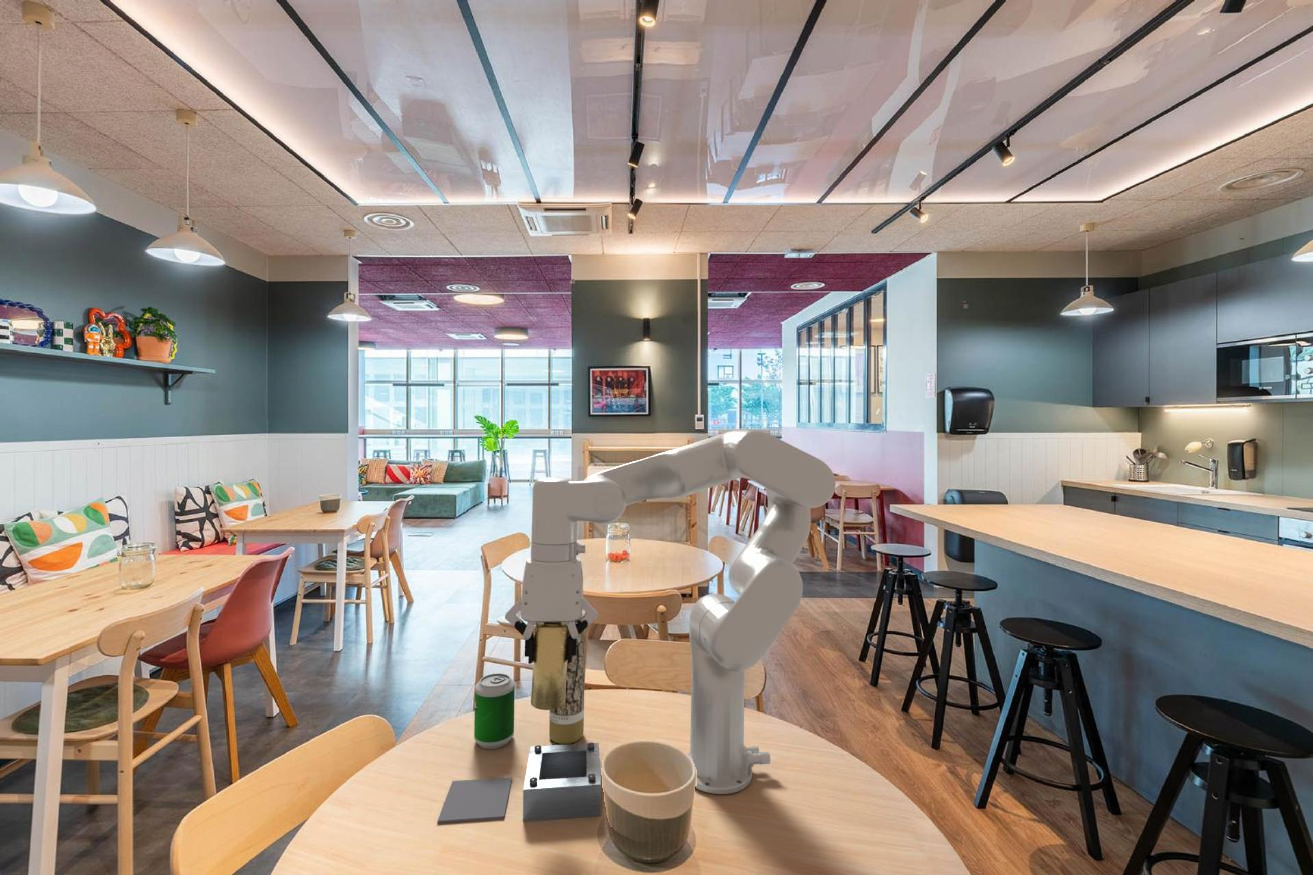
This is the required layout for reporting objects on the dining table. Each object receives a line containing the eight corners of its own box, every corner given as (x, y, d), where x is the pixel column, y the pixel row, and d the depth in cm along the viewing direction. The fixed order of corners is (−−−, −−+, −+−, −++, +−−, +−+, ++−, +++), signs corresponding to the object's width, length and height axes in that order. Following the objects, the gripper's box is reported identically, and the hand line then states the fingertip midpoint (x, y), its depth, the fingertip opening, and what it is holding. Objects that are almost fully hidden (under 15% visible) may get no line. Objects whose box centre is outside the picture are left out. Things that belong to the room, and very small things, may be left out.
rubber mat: (512, 779, 97) (512, 777, 97) (504, 818, 87) (504, 815, 87) (452, 783, 96) (452, 780, 96) (437, 823, 86) (437, 820, 86)
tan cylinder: (565, 693, 96) (570, 616, 96) (564, 709, 91) (569, 627, 91) (532, 694, 95) (536, 615, 95) (529, 710, 90) (534, 626, 90)
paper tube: (576, 747, 107) (578, 618, 107) (543, 743, 109) (545, 615, 109) (588, 729, 114) (590, 607, 114) (556, 725, 115) (558, 605, 115)
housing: (598, 770, 100) (598, 739, 100) (600, 815, 88) (600, 780, 88) (530, 774, 99) (530, 743, 99) (522, 821, 87) (523, 785, 87)
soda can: (522, 737, 111) (523, 677, 111) (492, 755, 104) (493, 691, 104) (496, 726, 115) (496, 668, 115) (465, 743, 108) (466, 681, 108)
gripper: (604, 547, 98) (601, 650, 98) (504, 547, 96) (500, 652, 96) (606, 556, 90) (603, 668, 90) (497, 556, 88) (494, 670, 88)
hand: (550, 658), depth 93 cm, fingers closed on tan cylinder, 5 cm apart
